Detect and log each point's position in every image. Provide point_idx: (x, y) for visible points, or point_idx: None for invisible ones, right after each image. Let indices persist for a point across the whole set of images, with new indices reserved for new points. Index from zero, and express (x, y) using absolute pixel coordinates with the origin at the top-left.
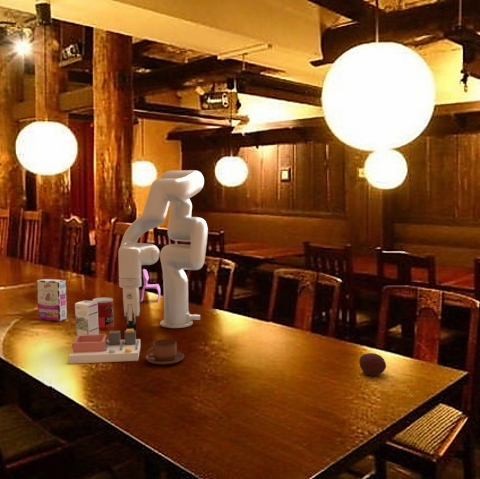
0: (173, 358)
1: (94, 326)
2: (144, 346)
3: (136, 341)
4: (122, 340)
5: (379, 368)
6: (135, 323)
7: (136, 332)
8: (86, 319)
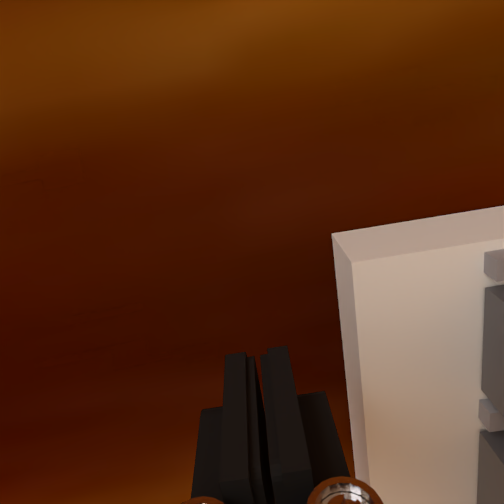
0: None
1: None
2: (338, 190)
3: (459, 284)
4: (393, 431)
5: None
6: (298, 481)
7: (244, 360)
8: None
